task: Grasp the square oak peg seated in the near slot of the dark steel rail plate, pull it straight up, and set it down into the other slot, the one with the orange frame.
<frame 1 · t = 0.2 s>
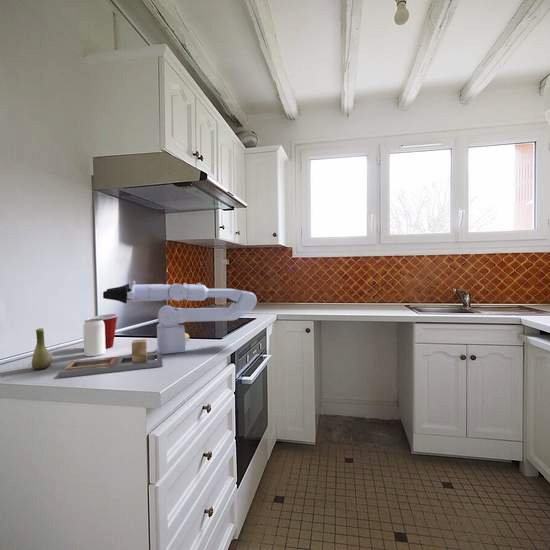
hand: (105, 293, 110), 21 cm above the worktop, tool horizontal, fingers open, 7 cm apart
plastic cup: (103, 348, 126), on the worktop
rail plate: (116, 366, 100), on the worktop
bread roll: (178, 341, 135), on the worktop
fennel bulb: (42, 369, 100), on the worktop
oak peg: (140, 363, 102), resting in rail plate
can: (95, 355, 115), on the worktop
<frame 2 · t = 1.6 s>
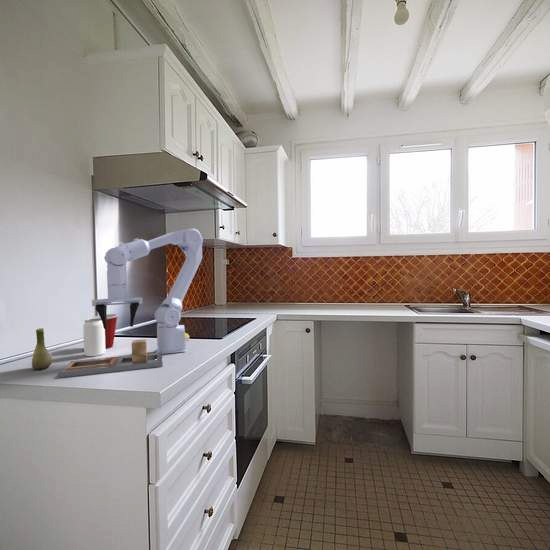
hand: (118, 327, 107), 10 cm above the worktop, tool pointing down, fingers open, 7 cm apart
nothing on the worktop moved.
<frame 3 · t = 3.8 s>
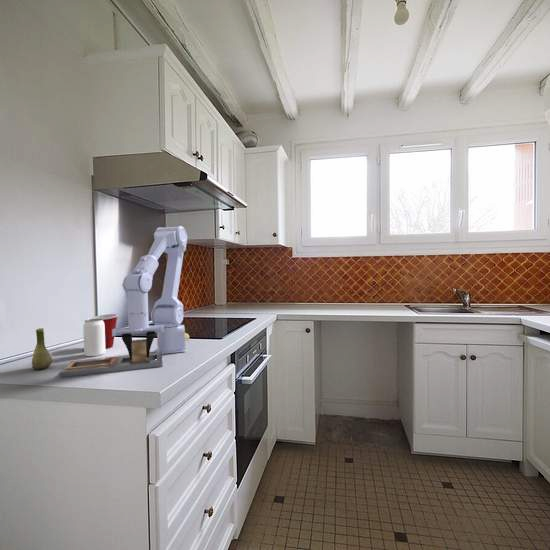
hand: (139, 357, 102), 2 cm above the worktop, tool pointing down, fingers closed on oak peg, 4 cm apart
oak peg: (139, 363, 102), resting in rail plate, touching gripper
everything else where it was.
when the fingers open (3 cm above the worktop, at t = 8.4 s): oak peg stays where it is, resting in rail plate.
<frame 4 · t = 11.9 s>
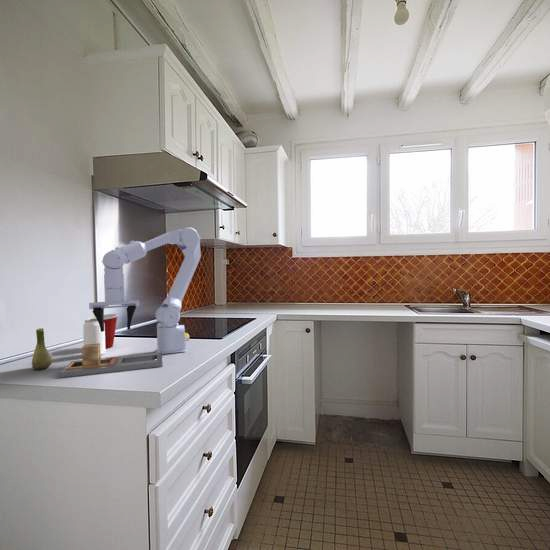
hand: (115, 330, 108), 9 cm above the worktop, tool pointing down, fingers open, 7 cm apart
oak peg: (92, 369, 97), resting in rail plate
everything else where it was.
at the end: oak peg 0.2 cm from the target spot on the rail plate, point 0.0 cm above the rail plate's base; oak peg tilted 0°; the gripper is holding nothing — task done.
